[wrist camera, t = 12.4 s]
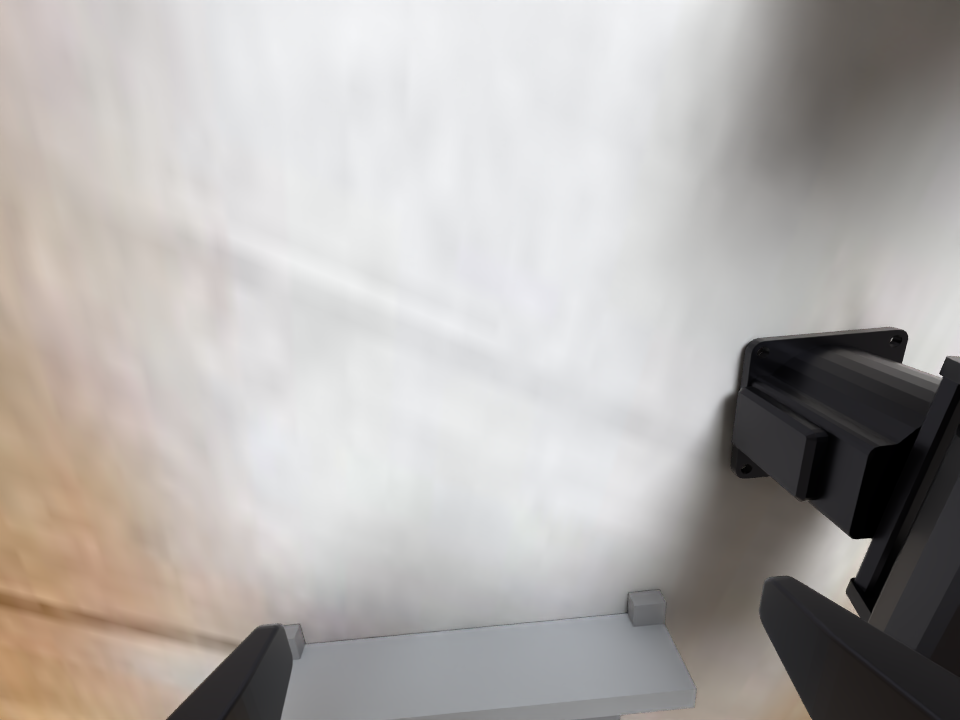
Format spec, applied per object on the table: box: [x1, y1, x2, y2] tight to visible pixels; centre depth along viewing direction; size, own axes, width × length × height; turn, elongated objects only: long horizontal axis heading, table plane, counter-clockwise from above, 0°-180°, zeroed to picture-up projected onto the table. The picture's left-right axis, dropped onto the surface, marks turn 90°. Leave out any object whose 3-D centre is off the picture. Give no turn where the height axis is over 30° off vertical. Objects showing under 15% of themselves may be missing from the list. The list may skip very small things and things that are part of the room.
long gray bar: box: [281, 590, 697, 720], centre depth 21 cm, size 20×4×4 cm, turn 94°
